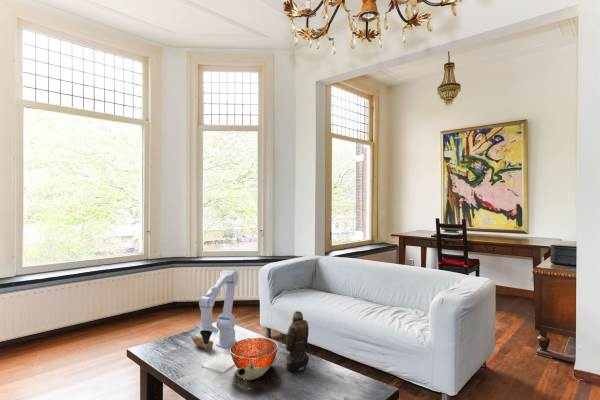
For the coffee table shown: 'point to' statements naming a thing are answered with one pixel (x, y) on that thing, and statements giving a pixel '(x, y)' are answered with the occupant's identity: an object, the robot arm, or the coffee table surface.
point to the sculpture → (297, 344)
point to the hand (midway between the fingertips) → (206, 343)
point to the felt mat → (220, 363)
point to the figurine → (202, 343)
